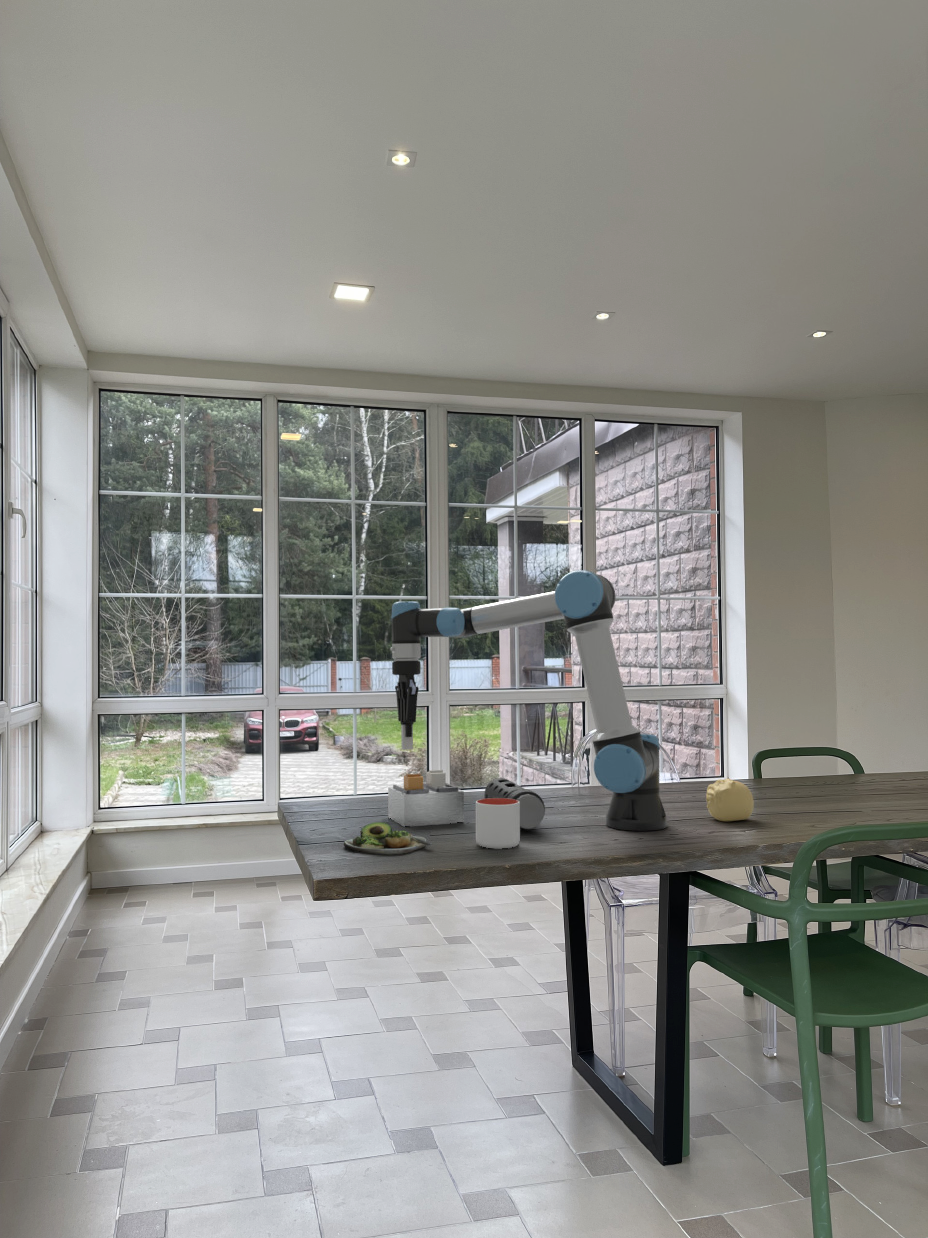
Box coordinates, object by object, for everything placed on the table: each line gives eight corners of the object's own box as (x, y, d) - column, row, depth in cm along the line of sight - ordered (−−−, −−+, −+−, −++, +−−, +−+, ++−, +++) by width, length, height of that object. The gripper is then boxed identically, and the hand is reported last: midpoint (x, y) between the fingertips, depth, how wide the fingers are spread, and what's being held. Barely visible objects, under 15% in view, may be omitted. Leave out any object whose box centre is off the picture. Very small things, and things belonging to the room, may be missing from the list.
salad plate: (449, 845, 211) (449, 825, 212) (407, 861, 196) (407, 839, 196) (378, 837, 221) (379, 818, 221) (333, 851, 205) (333, 830, 205)
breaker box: (463, 822, 238) (463, 787, 238) (404, 827, 232) (404, 790, 232) (444, 813, 251) (444, 780, 251) (388, 817, 245) (388, 783, 245)
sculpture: (701, 816, 247) (701, 775, 247) (746, 816, 247) (746, 775, 247) (711, 824, 236) (711, 781, 236) (759, 824, 235) (758, 781, 235)
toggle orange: (423, 790, 237) (423, 774, 237) (408, 791, 235) (408, 775, 235) (418, 788, 240) (418, 772, 241) (403, 789, 239) (403, 773, 239)
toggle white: (445, 786, 245) (445, 770, 245) (431, 787, 243) (431, 771, 243) (440, 784, 248) (440, 769, 248) (426, 785, 247) (426, 769, 247)
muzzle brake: (517, 814, 250) (517, 776, 250) (548, 834, 222) (547, 791, 223) (483, 816, 248) (483, 777, 248) (509, 836, 220) (509, 793, 221)
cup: (476, 841, 215) (476, 797, 215) (519, 841, 214) (519, 798, 215) (475, 850, 205) (475, 805, 205) (520, 850, 204) (520, 805, 205)
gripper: (385, 660, 250) (386, 747, 249) (400, 660, 237) (401, 752, 236) (412, 659, 252) (413, 746, 251) (427, 659, 240) (428, 750, 239)
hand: (407, 749), depth 244 cm, fingers closed
